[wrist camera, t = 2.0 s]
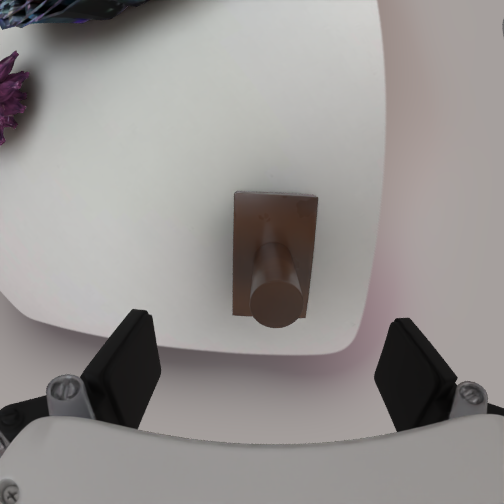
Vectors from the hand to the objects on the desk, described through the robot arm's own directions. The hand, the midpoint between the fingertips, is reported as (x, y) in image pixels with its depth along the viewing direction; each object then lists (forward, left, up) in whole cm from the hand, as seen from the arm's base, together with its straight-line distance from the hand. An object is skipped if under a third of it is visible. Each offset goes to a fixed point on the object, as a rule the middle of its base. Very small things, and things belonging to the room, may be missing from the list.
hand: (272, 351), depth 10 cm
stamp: (0, 0, -13) cm, 13 cm away
